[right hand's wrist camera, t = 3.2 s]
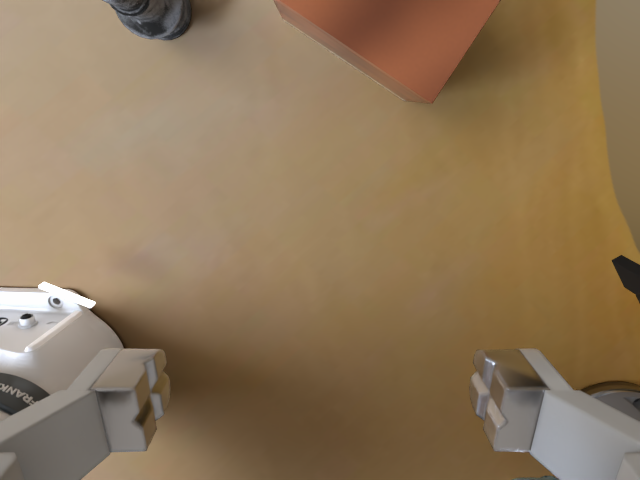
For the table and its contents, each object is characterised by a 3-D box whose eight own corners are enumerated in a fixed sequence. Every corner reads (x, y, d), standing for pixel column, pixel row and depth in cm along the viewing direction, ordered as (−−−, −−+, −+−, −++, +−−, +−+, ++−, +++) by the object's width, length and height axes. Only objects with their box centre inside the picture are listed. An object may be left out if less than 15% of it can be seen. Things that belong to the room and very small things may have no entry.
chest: (282, 20, 38) (271, -2, 29) (337, -89, 35) (344, -150, 26) (403, 100, 40) (427, 103, 31) (464, 5, 37) (509, -21, 28)
